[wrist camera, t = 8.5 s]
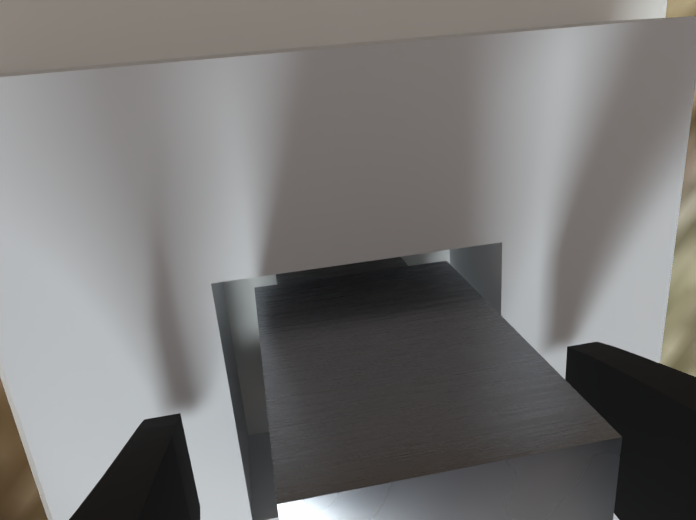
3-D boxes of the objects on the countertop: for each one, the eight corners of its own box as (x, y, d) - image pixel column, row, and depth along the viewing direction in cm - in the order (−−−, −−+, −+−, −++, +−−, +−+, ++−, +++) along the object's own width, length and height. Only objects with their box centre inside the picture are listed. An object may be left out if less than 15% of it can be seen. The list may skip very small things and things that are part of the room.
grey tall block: (423, 375, 16) (596, 673, 8) (271, 401, 15) (312, 747, 8) (418, 232, 14) (622, 437, 7) (250, 254, 14) (277, 505, 6)
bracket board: (593, 512, 20) (675, 619, 16) (99, 619, 18) (65, 772, 14) (648, -101, 14) (804, -153, 10) (-118, -59, 11) (-286, -108, 8)
